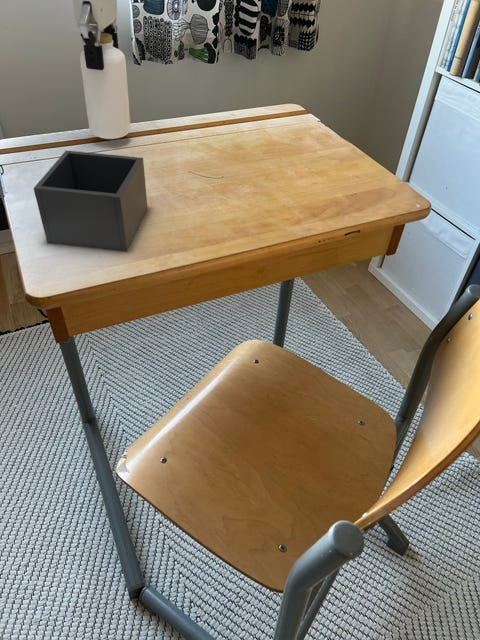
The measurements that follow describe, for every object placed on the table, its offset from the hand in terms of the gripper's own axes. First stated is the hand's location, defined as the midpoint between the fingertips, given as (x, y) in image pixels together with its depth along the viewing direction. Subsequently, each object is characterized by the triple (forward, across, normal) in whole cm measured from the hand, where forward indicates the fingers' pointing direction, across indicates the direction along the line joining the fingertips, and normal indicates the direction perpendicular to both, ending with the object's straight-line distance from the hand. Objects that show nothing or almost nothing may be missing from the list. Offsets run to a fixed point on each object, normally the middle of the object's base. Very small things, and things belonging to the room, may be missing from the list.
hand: (103, 61), depth 96 cm
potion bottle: (+14, 0, 0) cm, 14 cm away
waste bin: (+16, +32, +8) cm, 36 cm away
